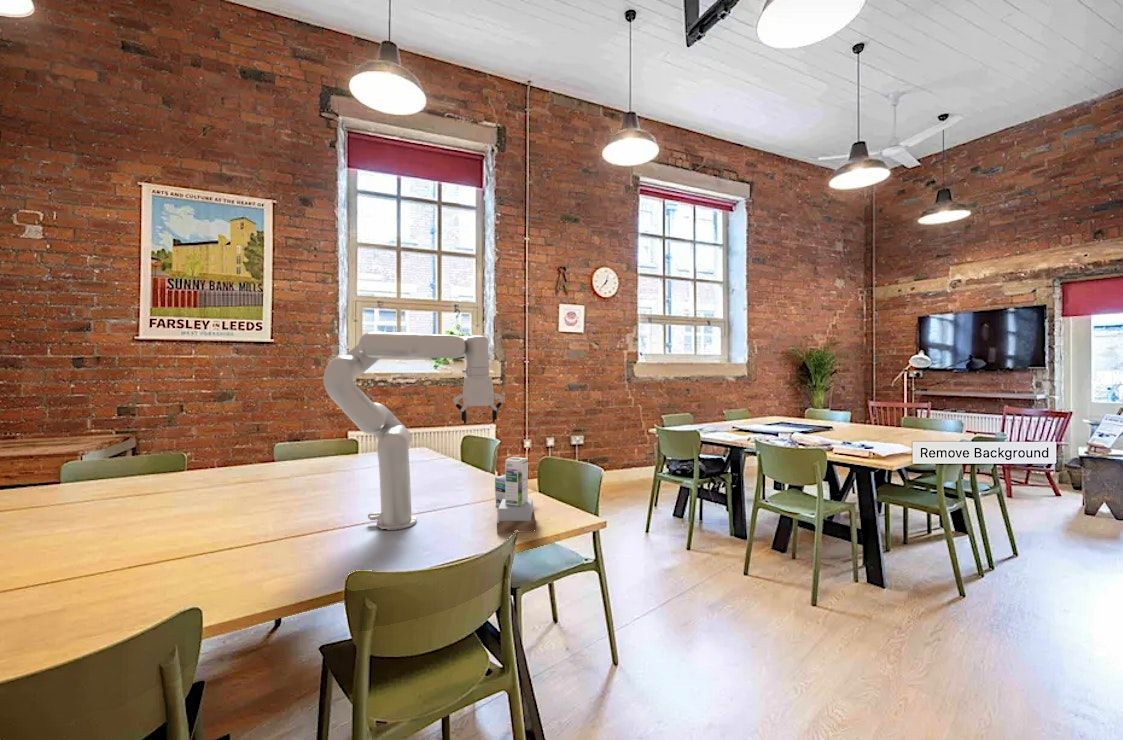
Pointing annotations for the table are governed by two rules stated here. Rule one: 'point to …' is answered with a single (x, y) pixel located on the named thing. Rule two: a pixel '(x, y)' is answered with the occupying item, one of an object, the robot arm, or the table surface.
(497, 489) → the light bulb box
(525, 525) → the walnut slab
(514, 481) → the syrup box
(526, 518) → the grey slab
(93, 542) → the table surface
